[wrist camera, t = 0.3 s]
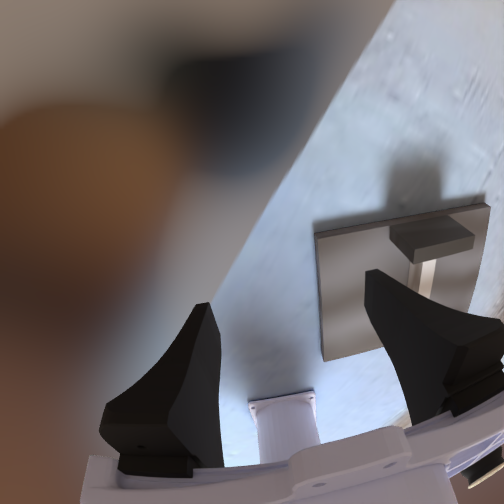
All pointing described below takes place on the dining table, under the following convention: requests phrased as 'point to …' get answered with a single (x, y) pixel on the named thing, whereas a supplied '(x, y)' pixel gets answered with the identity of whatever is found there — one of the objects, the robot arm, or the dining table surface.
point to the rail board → (396, 269)
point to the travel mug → (484, 467)
